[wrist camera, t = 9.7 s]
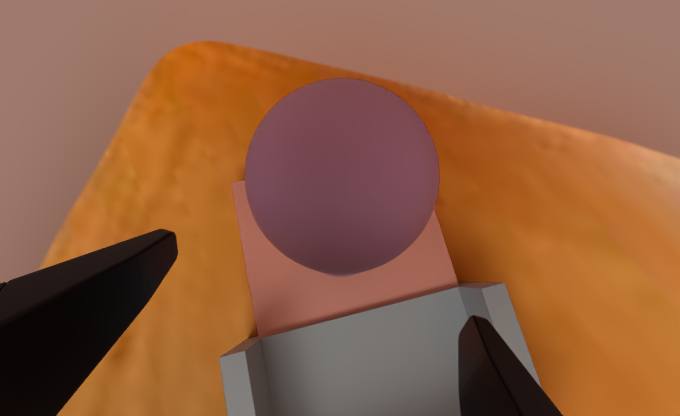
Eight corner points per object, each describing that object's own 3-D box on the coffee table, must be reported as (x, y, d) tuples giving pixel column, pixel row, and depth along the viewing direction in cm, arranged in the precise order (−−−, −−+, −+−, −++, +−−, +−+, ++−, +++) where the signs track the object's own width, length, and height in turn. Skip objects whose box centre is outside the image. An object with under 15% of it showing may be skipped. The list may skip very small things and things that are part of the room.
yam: (335, 295, 18) (324, 335, 5) (280, 227, 19) (159, 122, 6) (400, 238, 19) (530, 152, 6) (345, 176, 20) (356, -14, 7)
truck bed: (284, 555, 16) (244, 755, 9) (222, 191, 21) (165, 148, 14) (532, 480, 17) (661, 614, 10) (422, 145, 21) (461, 83, 15)
